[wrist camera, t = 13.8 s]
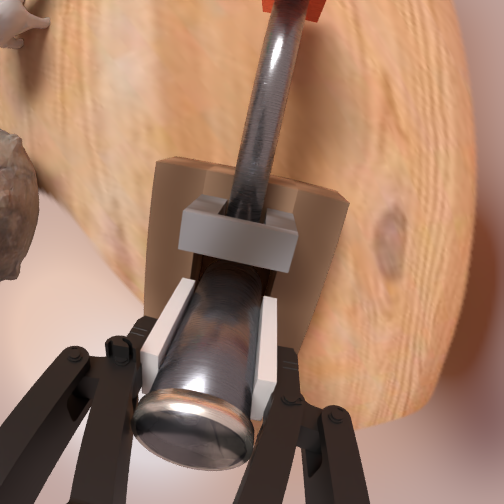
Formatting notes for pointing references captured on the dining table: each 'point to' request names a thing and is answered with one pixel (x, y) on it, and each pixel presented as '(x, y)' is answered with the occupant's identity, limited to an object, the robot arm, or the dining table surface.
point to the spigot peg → (207, 376)
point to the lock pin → (268, 103)
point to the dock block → (242, 238)
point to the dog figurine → (17, 22)
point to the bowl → (16, 204)
